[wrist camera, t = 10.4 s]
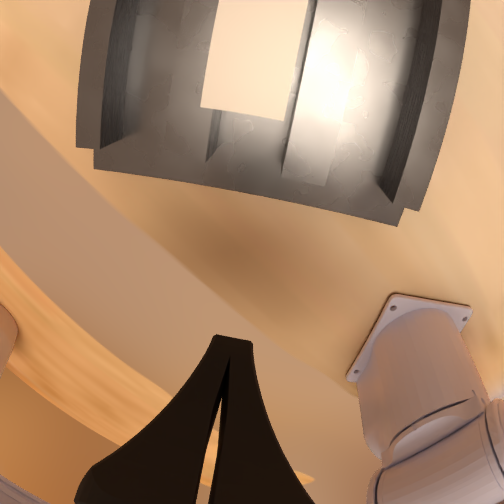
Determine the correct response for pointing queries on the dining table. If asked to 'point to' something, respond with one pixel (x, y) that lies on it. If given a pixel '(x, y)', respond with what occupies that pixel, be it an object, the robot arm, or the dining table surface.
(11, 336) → the cup
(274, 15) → the tall beige block
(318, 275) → the dining table surface
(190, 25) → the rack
